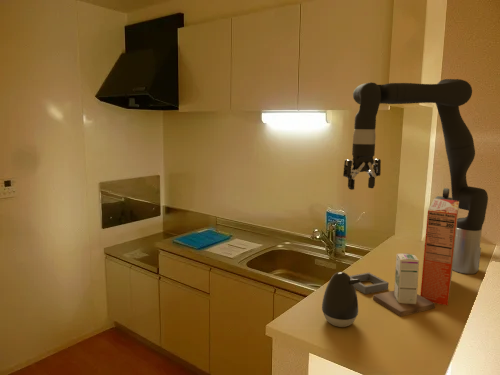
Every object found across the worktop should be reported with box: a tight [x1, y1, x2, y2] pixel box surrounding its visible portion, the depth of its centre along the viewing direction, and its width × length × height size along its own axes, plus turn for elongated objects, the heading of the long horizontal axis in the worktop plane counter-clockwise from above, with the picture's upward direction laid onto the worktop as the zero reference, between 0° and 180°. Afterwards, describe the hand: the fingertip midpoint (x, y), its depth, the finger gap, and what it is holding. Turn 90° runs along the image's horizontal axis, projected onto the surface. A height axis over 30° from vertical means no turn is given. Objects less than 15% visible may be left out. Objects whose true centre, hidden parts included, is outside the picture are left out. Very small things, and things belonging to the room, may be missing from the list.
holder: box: [349, 272, 389, 295], centre depth 134 cm, size 10×10×2 cm
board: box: [372, 290, 436, 317], centre depth 122 cm, size 14×12×2 cm
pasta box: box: [419, 197, 460, 306], centre depth 130 cm, size 23×8×30 cm, turn 150°
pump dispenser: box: [321, 271, 361, 328], centre depth 109 cm, size 10×10×15 cm
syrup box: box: [393, 253, 420, 304], centre depth 120 cm, size 6×6×14 cm
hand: (361, 188), depth 134 cm, fingers open, 8 cm apart
